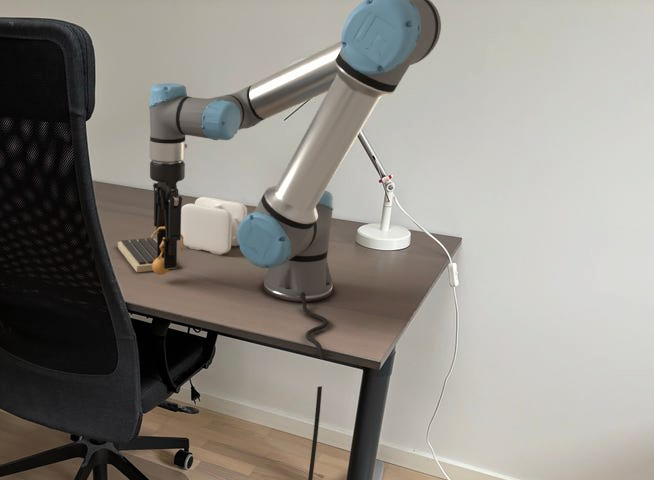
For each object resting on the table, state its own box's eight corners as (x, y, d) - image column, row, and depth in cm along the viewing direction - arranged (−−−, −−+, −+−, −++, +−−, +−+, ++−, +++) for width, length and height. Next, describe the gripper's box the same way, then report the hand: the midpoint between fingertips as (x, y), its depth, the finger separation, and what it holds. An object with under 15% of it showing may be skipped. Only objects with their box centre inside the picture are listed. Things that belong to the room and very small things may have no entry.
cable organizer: (177, 246, 194) (177, 203, 189) (198, 236, 202) (199, 194, 196) (227, 257, 187) (229, 212, 181) (247, 246, 195) (249, 202, 189)
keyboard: (176, 268, 179) (176, 259, 178) (136, 272, 177) (136, 263, 176) (154, 244, 195) (154, 236, 194) (117, 247, 193) (117, 239, 192)
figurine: (139, 270, 170) (146, 225, 163) (152, 259, 175) (159, 214, 167) (171, 283, 168) (179, 238, 161) (183, 272, 173) (191, 227, 165)
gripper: (197, 168, 152) (194, 275, 163) (171, 151, 167) (170, 249, 178) (162, 171, 150) (162, 278, 161) (139, 153, 165) (140, 252, 176)
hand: (166, 263), depth 169 cm, fingers open, 5 cm apart
